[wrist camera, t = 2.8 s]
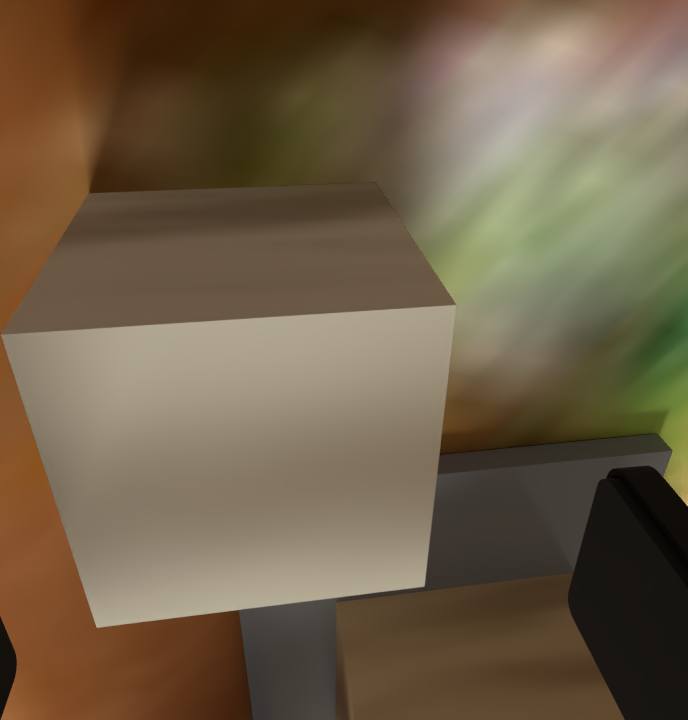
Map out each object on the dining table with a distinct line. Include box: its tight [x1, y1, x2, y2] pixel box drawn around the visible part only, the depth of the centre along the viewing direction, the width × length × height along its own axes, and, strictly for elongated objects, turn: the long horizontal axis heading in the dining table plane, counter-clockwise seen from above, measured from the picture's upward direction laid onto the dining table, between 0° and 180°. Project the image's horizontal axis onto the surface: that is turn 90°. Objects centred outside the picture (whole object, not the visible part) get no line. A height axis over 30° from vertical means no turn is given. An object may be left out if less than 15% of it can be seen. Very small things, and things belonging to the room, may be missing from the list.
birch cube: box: [1, 182, 456, 628], centre depth 12 cm, size 6×6×6 cm
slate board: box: [239, 434, 672, 720], centre depth 23 cm, size 18×13×1 cm
